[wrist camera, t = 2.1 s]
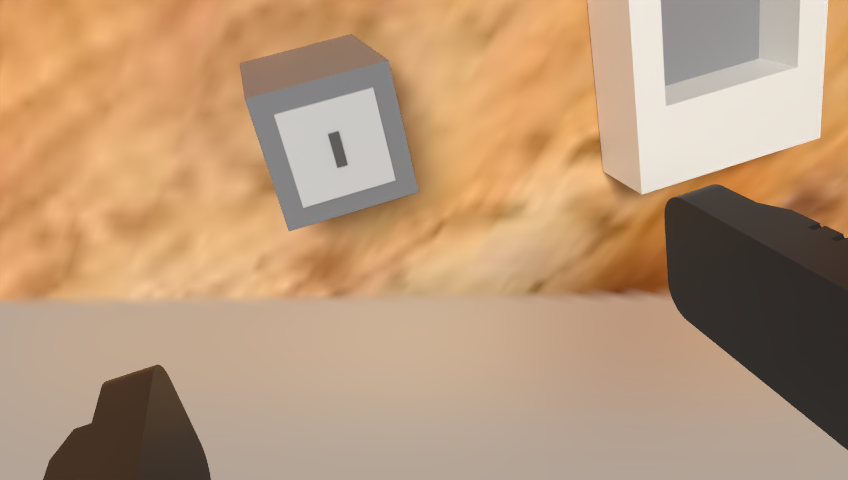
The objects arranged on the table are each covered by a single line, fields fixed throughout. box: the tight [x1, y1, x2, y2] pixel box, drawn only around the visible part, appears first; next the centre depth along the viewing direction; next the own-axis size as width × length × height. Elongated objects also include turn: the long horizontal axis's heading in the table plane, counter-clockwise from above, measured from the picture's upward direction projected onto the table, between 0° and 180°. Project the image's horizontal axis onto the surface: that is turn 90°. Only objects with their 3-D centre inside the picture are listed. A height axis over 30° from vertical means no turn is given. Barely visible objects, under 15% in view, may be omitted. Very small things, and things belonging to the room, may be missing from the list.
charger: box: [240, 34, 418, 231], centre depth 22 cm, size 4×4×6 cm
